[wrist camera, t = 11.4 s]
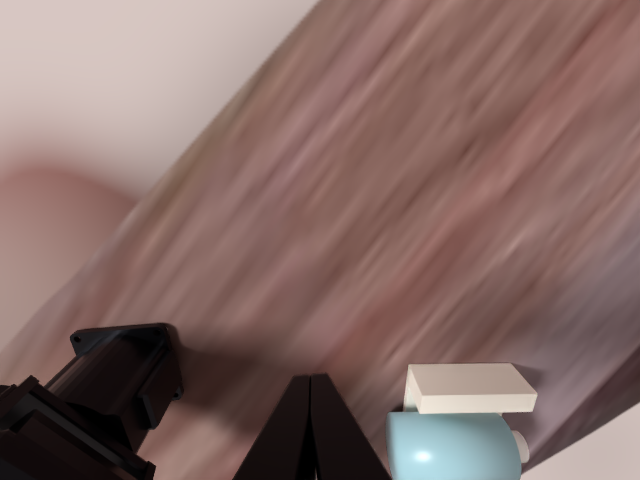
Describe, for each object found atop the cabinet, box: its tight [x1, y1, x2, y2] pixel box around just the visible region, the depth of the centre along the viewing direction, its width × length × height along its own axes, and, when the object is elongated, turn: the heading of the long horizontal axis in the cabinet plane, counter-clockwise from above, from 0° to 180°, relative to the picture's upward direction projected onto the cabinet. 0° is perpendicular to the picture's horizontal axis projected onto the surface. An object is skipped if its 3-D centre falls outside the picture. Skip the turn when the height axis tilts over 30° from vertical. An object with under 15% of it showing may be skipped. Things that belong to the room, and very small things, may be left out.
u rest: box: [403, 363, 538, 417], centre depth 24 cm, size 8×10×3 cm
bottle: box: [385, 412, 529, 480], centre depth 23 cm, size 5×5×10 cm
